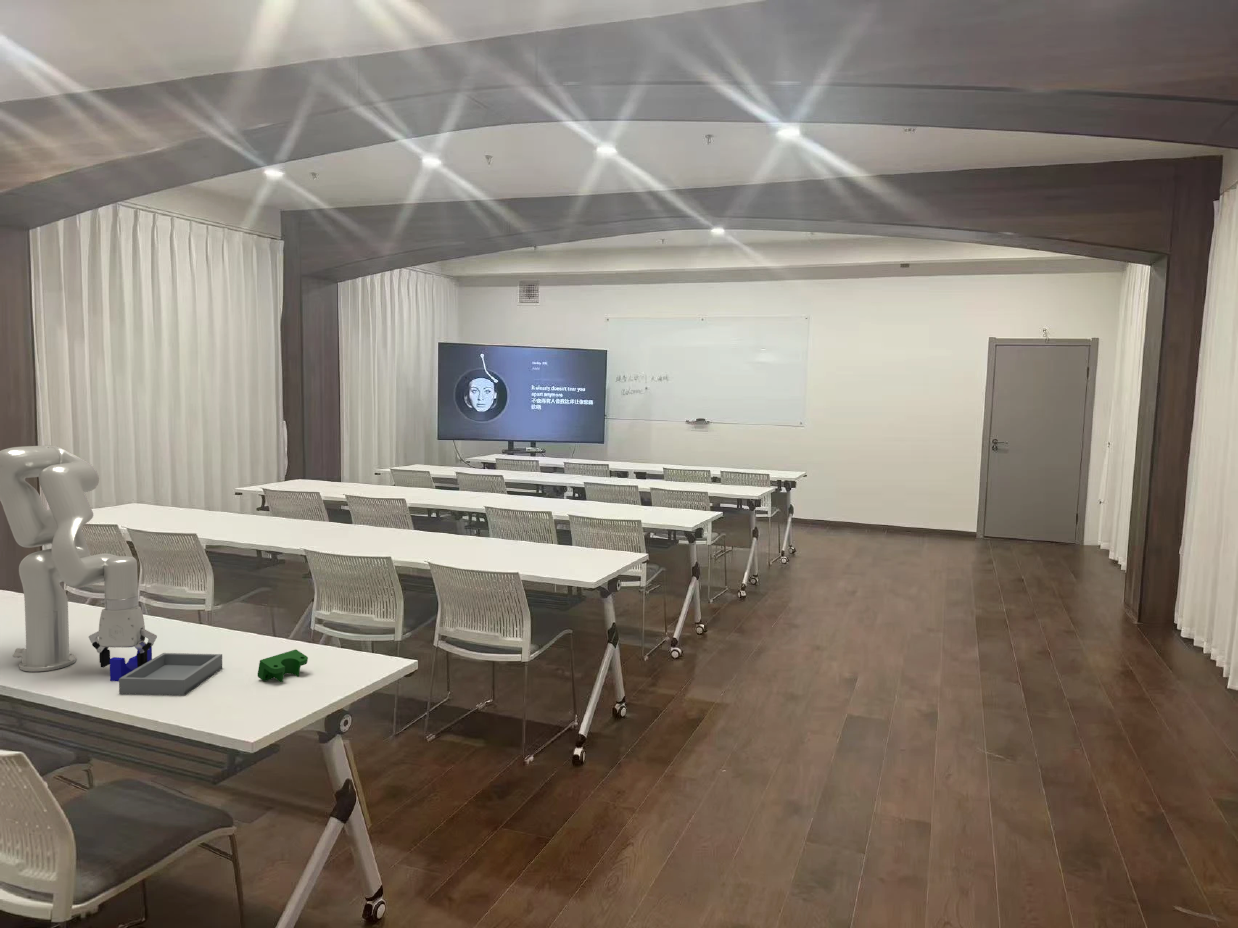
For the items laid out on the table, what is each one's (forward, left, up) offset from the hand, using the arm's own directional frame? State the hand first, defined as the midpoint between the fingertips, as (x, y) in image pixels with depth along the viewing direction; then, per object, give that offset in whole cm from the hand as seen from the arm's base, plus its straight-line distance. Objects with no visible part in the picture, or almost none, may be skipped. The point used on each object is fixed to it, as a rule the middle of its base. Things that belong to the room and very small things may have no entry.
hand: (123, 666), depth 211 cm
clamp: (+43, 0, -2) cm, 43 cm away
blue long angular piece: (+1, 0, -2) cm, 3 cm away
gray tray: (+16, -5, -2) cm, 16 cm away
